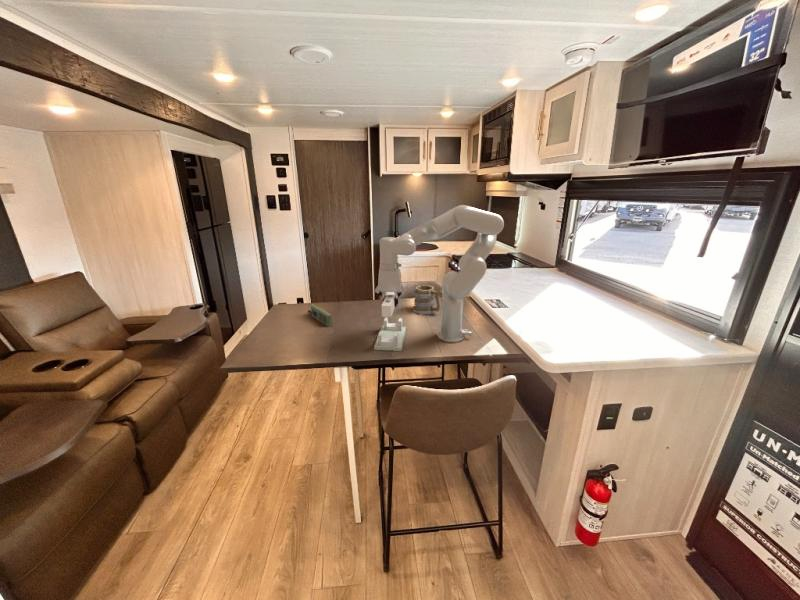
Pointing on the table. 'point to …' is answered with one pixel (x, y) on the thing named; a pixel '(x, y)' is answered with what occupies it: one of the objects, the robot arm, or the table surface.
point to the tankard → (426, 300)
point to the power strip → (388, 305)
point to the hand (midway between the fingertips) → (390, 305)
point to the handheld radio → (321, 315)
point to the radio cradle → (390, 336)
